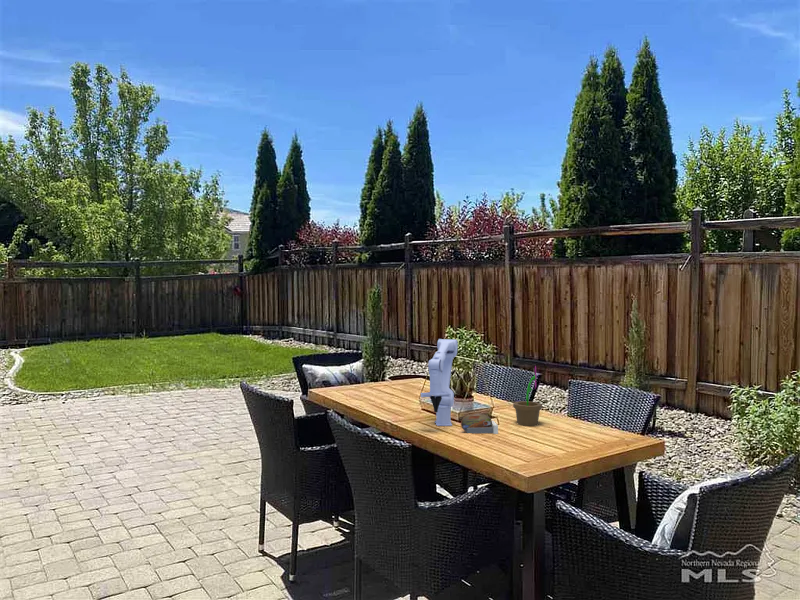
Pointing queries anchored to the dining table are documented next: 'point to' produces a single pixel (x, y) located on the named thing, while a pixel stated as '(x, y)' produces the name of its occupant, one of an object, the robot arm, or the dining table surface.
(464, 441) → the dining table surface
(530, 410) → the flowerpot
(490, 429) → the bay
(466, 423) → the tin
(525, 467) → the dining table surface
